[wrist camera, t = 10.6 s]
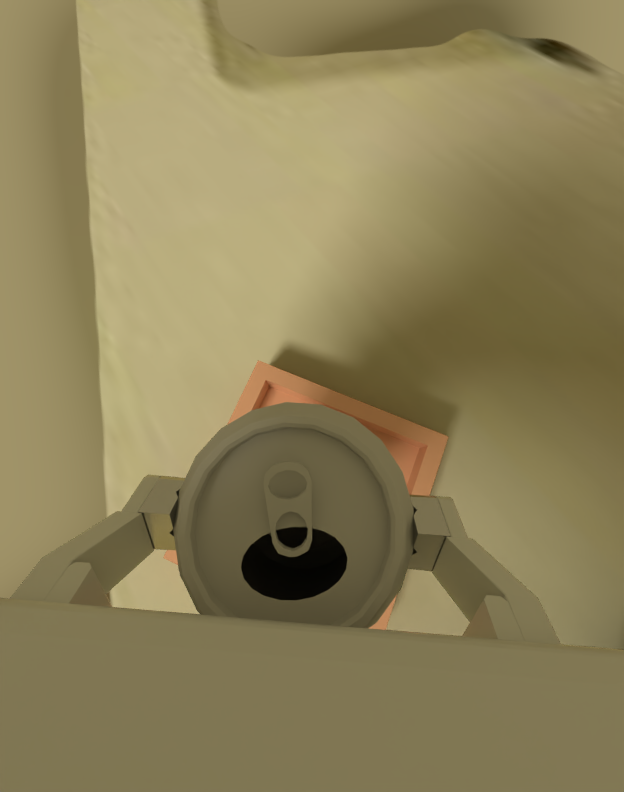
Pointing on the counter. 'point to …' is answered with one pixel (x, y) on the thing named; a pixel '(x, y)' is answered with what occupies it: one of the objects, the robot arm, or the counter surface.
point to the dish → (401, 437)
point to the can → (294, 520)
